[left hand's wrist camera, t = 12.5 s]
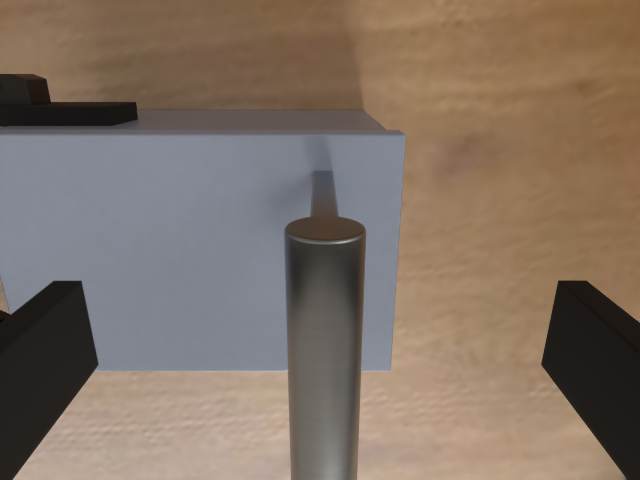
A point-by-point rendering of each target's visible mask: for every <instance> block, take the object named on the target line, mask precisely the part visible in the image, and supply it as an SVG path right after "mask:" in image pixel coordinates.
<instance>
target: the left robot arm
mask: <svg viewBox="0 0 640 480" xmlns="http://www.w3.org/2000/svg"><path fill="white" fill-rule="evenodd" d="M98 365H99V363H98V359H97V354H96V349H95V344H94V339H93V334H92V329H91V324H90V319H89V314H88V310H87V305H86V300H85V295H84V290H83V285H82V281H53V282H51V283H50V284H49V285H48V286H46V287H45V288H44V289H43V290H41V291H40V292H39V293H37V294H36V295H35V296H34V297H32V298H31V299H30V300H29V301H27V302H26V303H25V304H24V305H22V306H21V307H20V308H19V309H17V310H16V311H15V312H13V313H12V314H11V315H10V316H8V317H7V318H6V319H5V320H3V321H2V322H1V323H0V480H13V478H14V477H15V476H16V474H17V473H18V472H19V470H20V469H21V468H22V466H23V465H24V464H25V462H26V461H27V460H28V458H29V457H30V456H31V454H32V453H33V452H34V450H35V449H36V448H37V446H38V445H39V444H40V442H41V441H42V440H43V438H44V437H45V436H46V434H47V433H48V432H49V430H50V429H51V428H52V426H53V425H54V424H55V422H56V421H57V420H58V418H59V417H60V416H61V414H62V413H63V412H64V410H65V409H66V408H67V406H68V405H69V404H70V402H71V401H72V400H73V398H74V397H75V396H76V394H77V393H78V392H79V390H80V389H81V388H82V386H83V385H84V384H85V382H86V381H87V380H88V378H89V377H90V376H91V374H92V373H93V372H94V370H95V369H96V368H97V366H98ZM541 365H542V366H543V368H544V369H545V370H546V372H547V373H548V374H549V376H550V377H551V378H552V380H553V381H554V382H555V384H556V385H557V386H558V388H559V389H560V390H561V392H562V393H563V394H564V396H565V397H566V398H567V400H568V401H569V402H570V404H571V405H572V406H573V408H574V409H575V410H576V412H577V413H578V414H579V416H580V417H581V418H582V420H583V421H584V422H585V424H586V425H587V426H588V428H589V429H590V430H591V432H592V433H593V434H594V436H595V437H596V438H597V440H598V441H599V442H600V444H601V445H602V446H603V448H604V449H605V450H606V452H607V453H608V454H609V456H610V457H611V458H612V460H613V461H614V462H615V464H616V465H617V466H618V468H619V469H620V470H621V472H622V473H623V474H624V476H625V477H626V478H627V480H640V323H639V322H638V321H637V320H635V319H634V318H633V317H632V316H630V315H629V314H628V313H627V312H625V311H624V310H623V309H621V308H620V307H619V306H618V305H616V304H615V303H614V302H613V301H611V300H610V299H609V298H608V297H606V296H605V295H604V294H603V293H601V292H600V291H599V290H597V289H596V288H595V287H594V286H592V285H591V284H590V283H589V282H587V281H558V285H557V290H556V295H555V300H554V305H553V310H552V314H551V319H550V324H549V329H548V334H547V339H546V344H545V349H544V354H543V359H542V363H541Z"/></svg>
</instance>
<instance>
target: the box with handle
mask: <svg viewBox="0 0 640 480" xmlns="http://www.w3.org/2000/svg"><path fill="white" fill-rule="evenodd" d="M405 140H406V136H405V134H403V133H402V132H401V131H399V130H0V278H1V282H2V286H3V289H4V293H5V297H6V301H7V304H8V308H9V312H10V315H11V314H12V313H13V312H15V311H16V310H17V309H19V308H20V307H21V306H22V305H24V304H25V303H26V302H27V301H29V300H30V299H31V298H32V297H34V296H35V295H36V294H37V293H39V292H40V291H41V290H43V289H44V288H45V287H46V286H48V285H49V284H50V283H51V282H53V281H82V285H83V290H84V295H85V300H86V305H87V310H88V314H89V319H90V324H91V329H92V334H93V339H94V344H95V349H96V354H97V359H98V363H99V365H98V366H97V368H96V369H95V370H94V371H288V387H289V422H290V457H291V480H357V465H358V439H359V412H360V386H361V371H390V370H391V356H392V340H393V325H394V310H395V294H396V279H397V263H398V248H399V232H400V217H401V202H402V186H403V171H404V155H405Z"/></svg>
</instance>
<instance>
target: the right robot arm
mask: <svg viewBox="0 0 640 480" xmlns="http://www.w3.org/2000/svg"><path fill="white" fill-rule="evenodd" d="M134 120H138V114H137V107H136V102H51V101H50V96H49V90H48V85H47V80H46V79H44V78H42V77H39V76H37V75H34V74H0V127H7V126H114V125H118V124H122V123H126V122H130V121H134ZM8 316H10V314H8V313H6V312H4V311H1V310H0V323H1V322H2V321H3V320H5V319H6V318H7V317H8Z"/></svg>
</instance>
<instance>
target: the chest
mask: <svg viewBox="0 0 640 480" xmlns="http://www.w3.org/2000/svg"><path fill="white" fill-rule="evenodd" d="M137 114H138V120H134V121H130V122H126V123H122V124H118V125H114V126H7V127H1V128H0V130H386V129H385V128H384V127H383V126H382V125H380V124H379V123H378V122H377V121H376V120H375V119H373V118H372V117H371V116H370V115H369V114H368V113H366V112H365V111H364V110H137Z"/></svg>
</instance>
